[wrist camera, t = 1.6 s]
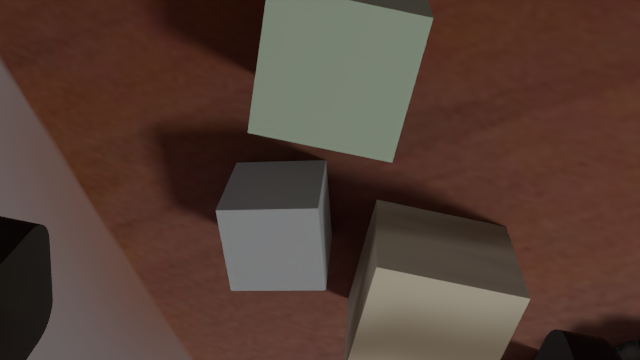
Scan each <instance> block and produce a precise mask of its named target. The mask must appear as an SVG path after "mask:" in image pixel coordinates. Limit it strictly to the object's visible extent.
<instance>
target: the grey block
mask: <svg viewBox="0 0 640 360" xmlns="http://www.w3.org/2000/svg"><path fill="white" fill-rule="evenodd" d="M216 216H217V221H218V226H219V231H220V236H221V241H222V246H223V252H224V257H225V262H226V267H227V272H228V277H229V283H230V288H231V291H274V290H326V284H327V275H328V267H329V258H330V250H331V241H332V228H331V215H330V203H329V191H328V178H327V166H326V160H315V161H280V162H245V163H236V165H235V167H234V170H233V172H232V174H231V176H230V179H229V181H228V183H227V185H226V188H225V190H224V192H223V195H222V197H221V199H220V201H219V204H218V206H217V208H216Z"/></svg>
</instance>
